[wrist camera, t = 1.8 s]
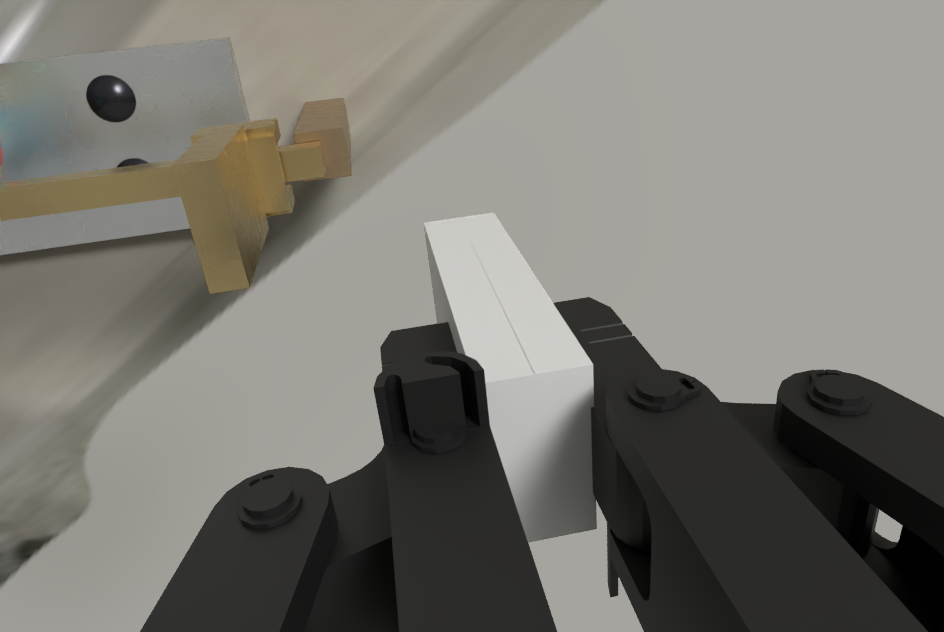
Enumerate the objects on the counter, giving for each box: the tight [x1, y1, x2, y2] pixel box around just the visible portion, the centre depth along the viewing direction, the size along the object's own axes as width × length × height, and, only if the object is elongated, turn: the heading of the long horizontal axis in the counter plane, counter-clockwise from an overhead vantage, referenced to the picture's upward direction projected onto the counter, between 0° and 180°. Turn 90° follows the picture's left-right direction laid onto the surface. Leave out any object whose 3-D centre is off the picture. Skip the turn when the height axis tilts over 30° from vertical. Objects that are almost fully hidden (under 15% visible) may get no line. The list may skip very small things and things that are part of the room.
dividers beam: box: [0, 98, 352, 221], centre depth 30 cm, size 28×3×11 cm, turn 95°
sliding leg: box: [172, 118, 295, 294], centre depth 27 cm, size 3×4×16 cm
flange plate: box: [0, 37, 270, 255], centre depth 34 cm, size 21×9×1 cm, turn 95°
